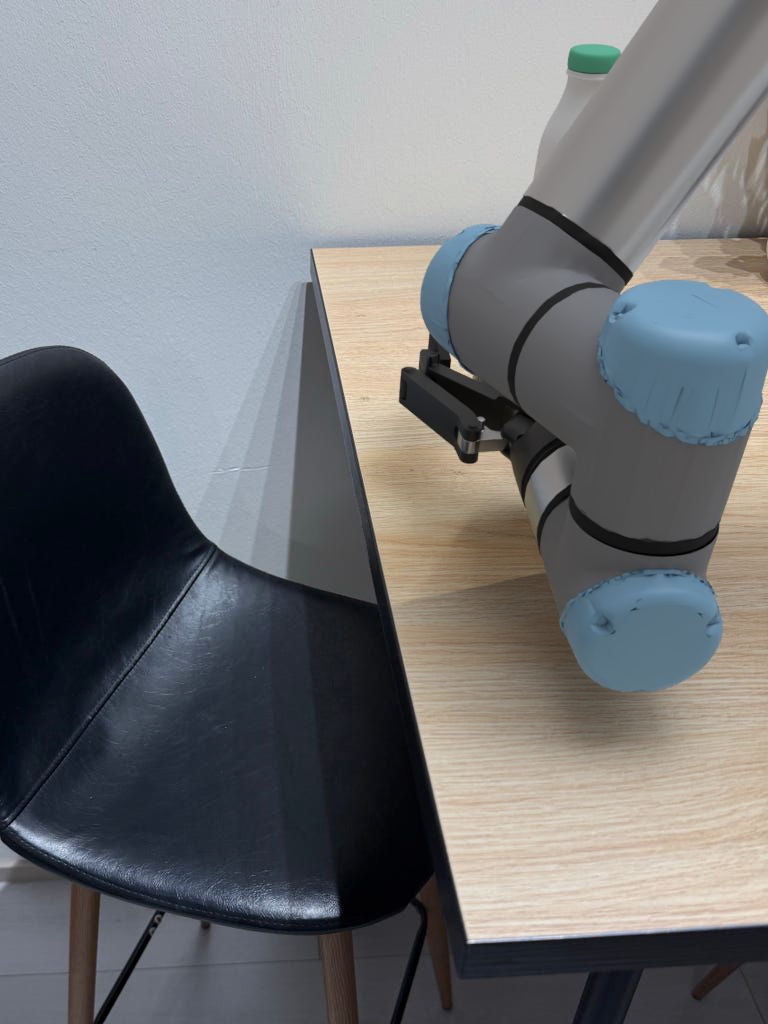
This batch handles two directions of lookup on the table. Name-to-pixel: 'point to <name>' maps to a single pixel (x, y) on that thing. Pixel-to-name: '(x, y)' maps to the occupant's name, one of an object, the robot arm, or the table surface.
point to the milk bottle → (576, 93)
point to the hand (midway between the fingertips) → (521, 336)
